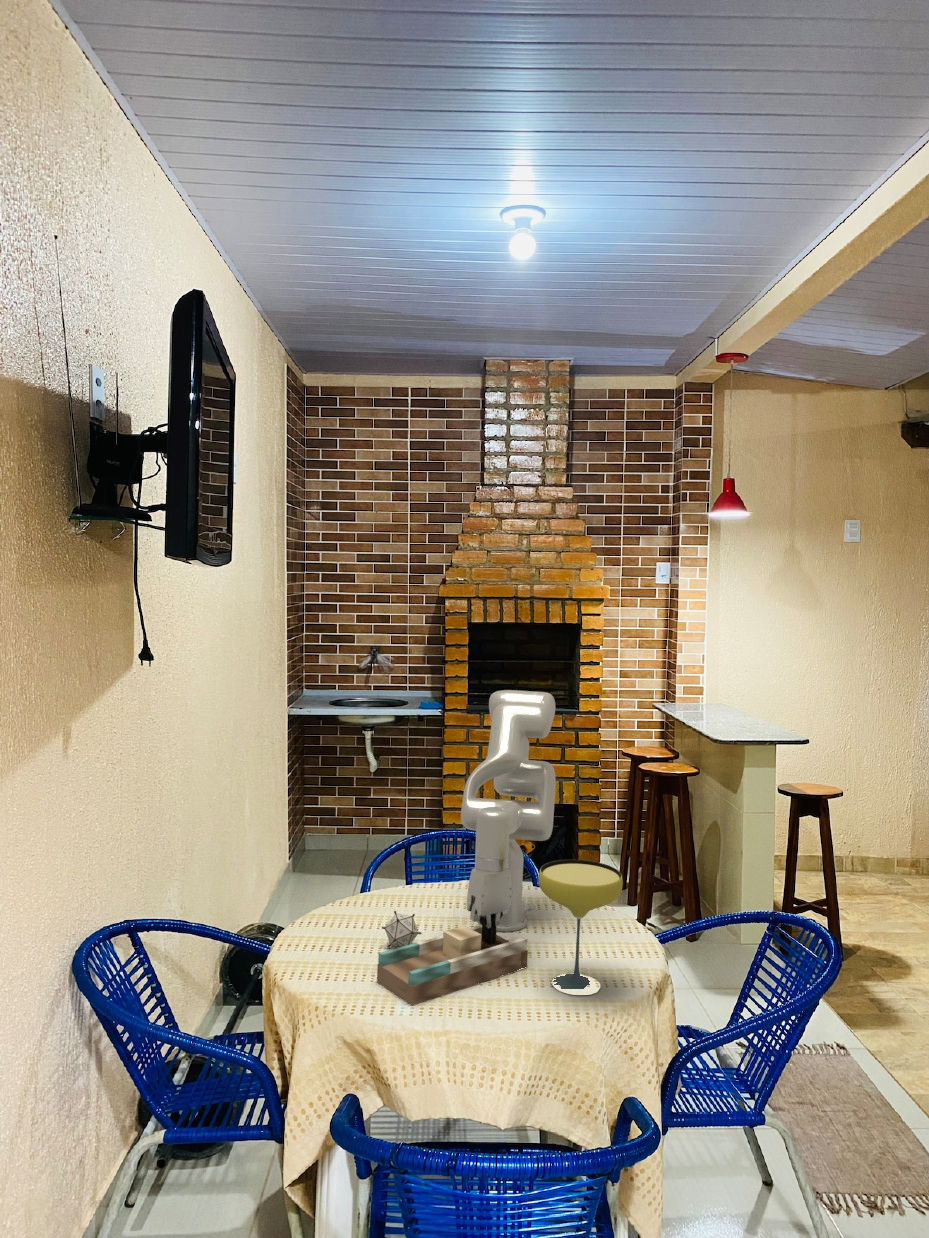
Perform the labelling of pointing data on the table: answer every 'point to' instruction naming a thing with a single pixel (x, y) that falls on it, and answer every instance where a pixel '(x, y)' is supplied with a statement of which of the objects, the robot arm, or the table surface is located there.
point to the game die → (401, 930)
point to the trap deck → (446, 967)
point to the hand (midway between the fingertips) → (488, 942)
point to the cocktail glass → (579, 897)
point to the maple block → (460, 942)
